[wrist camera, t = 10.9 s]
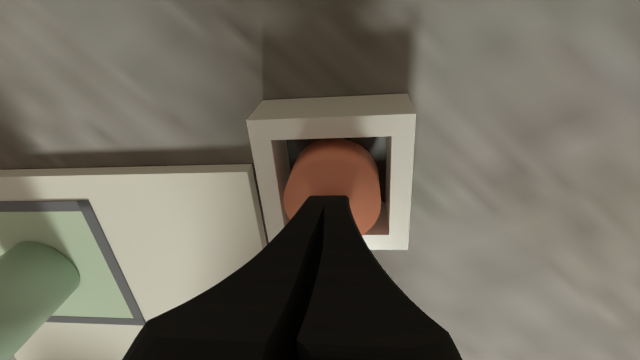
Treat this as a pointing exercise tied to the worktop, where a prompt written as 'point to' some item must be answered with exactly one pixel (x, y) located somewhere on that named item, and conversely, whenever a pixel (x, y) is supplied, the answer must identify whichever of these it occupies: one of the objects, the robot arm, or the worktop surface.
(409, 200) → the button housing
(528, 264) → the worktop surface
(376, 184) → the button
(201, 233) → the picture board
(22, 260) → the sage marker
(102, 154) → the worktop surface
